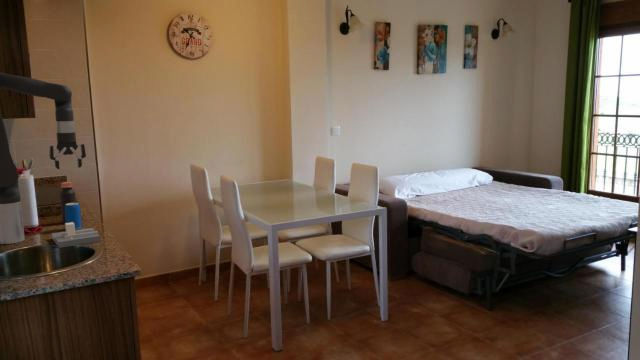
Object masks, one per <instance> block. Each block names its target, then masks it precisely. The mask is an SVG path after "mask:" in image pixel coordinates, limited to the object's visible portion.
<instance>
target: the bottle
mask: <svg viewBox="0 0 640 360" xmlns="http://www.w3.org/2000/svg"><path fill="white" fill-rule="evenodd" d="M60 184H61V185H60V187H61V189H62V190H61V191H60V192H59V198H60V199H59V200H60V209H61V220H62V221H61V222H62V224H65V223H66V216H65V206H66V204H67V203H77V201H76V199H77V198H76V192H75V191H74V190H73V182H72V181H63V182H61V183H60Z"/></svg>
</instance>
